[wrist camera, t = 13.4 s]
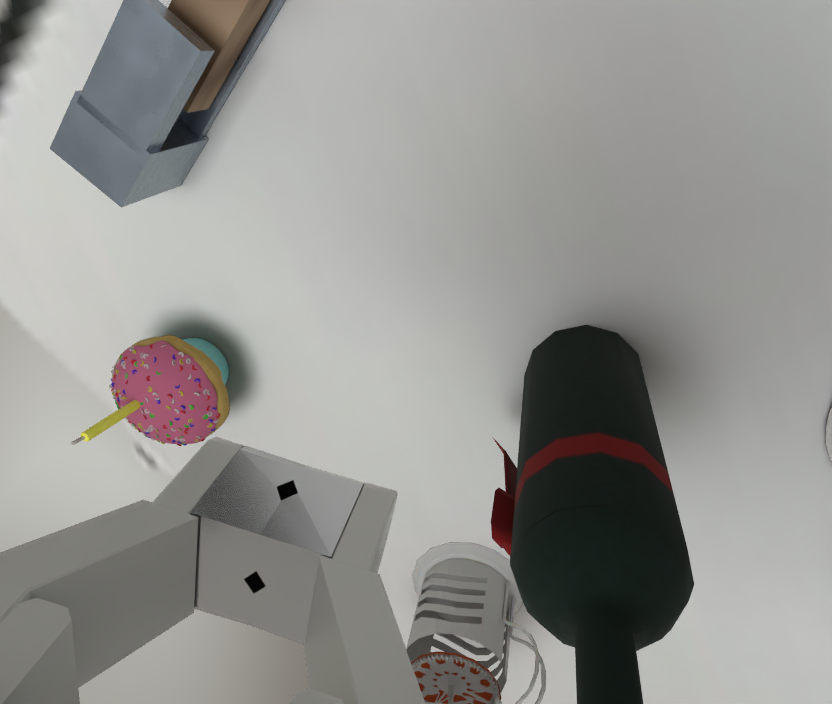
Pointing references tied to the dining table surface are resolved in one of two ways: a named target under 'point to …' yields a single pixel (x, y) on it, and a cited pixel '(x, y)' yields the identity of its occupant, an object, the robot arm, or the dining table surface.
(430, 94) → the dining table surface
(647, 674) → the dining table surface
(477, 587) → the french press
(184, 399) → the cupcake
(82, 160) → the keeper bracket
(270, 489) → the robot arm
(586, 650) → the wine bottle
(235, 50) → the walnut link
